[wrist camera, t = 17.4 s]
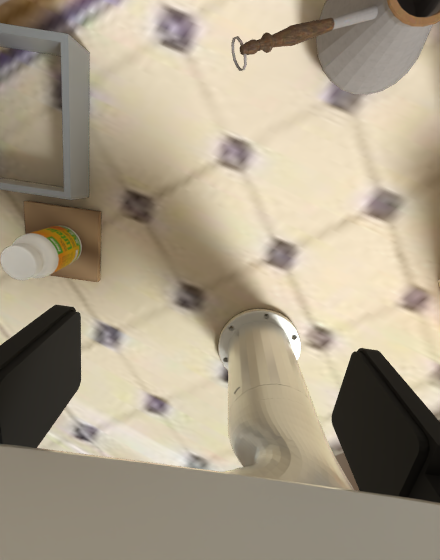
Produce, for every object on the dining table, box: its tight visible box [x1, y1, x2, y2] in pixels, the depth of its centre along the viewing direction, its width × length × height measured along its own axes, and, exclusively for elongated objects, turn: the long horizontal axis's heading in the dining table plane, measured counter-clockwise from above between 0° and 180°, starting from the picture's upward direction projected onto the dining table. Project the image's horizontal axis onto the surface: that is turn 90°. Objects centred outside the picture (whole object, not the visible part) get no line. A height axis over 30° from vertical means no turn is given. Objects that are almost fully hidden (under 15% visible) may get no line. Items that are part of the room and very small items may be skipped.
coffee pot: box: [232, 0, 440, 94], centre depth 29 cm, size 21×12×15 cm, turn 110°
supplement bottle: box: [0, 225, 82, 280], centre depth 38 cm, size 5×5×10 cm
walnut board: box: [24, 201, 101, 282], centre depth 43 cm, size 10×10×1 cm
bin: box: [0, 23, 89, 200], centre depth 36 cm, size 17×17×5 cm
